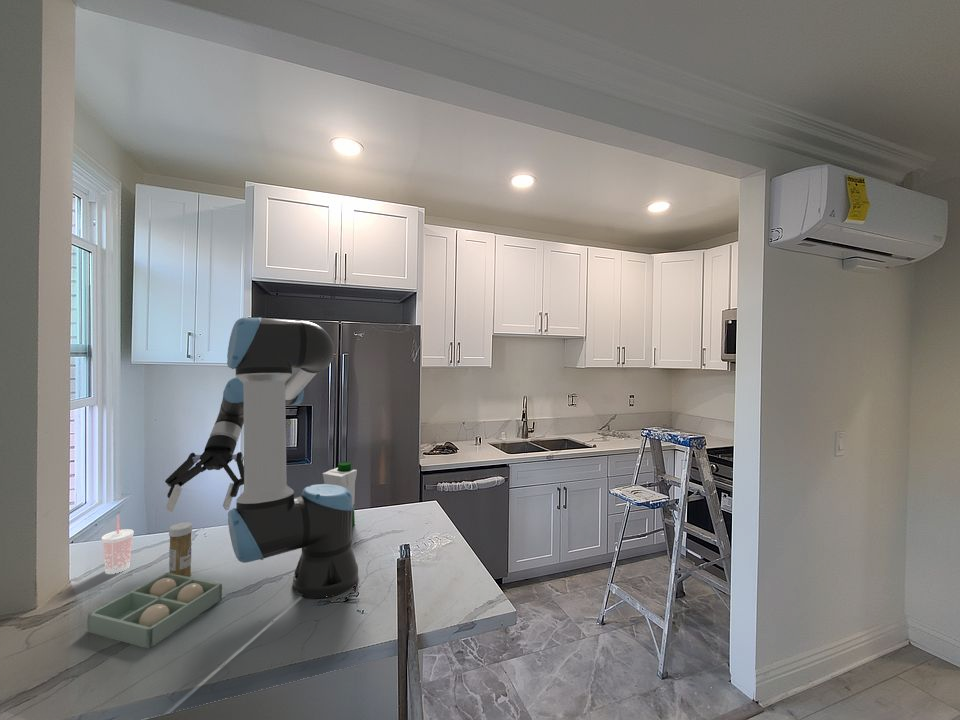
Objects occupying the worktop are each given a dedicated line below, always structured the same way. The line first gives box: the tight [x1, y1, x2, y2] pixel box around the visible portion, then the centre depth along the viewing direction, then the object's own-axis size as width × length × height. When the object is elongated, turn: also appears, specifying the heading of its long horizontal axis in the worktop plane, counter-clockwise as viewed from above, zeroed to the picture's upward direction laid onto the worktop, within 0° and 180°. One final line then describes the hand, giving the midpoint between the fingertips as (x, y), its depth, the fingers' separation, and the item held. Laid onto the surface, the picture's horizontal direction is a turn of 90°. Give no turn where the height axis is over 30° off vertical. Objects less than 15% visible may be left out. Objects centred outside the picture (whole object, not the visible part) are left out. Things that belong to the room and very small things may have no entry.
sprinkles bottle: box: [168, 521, 193, 577], centre depth 99 cm, size 5×5×13 cm
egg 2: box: [139, 604, 170, 627], centre depth 81 cm, size 5×5×5 cm
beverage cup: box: [101, 514, 135, 575], centre depth 103 cm, size 6×6×14 cm
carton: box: [86, 572, 223, 649], centre depth 86 cm, size 16×16×4 cm
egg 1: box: [149, 578, 177, 597], centre depth 90 cm, size 5×5×5 cm
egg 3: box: [177, 583, 204, 603], centre depth 88 cm, size 5×5×5 cm
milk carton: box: [322, 461, 358, 526], centre depth 132 cm, size 9×9×20 cm
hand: (197, 509), depth 108 cm, fingers open, 13 cm apart
